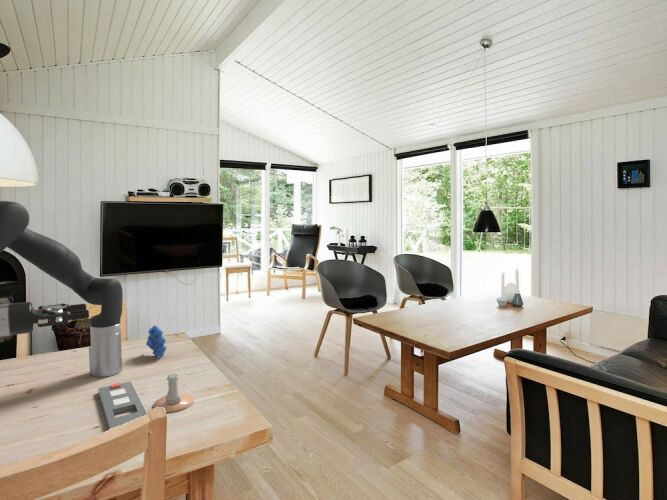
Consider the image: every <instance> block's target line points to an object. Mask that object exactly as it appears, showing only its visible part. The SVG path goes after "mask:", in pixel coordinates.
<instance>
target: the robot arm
mask: <svg viewBox="0 0 667 500" xmlns="http://www.w3.org/2000/svg"><path fill="white" fill-rule="evenodd" d="M29 224H30V215H29V212H28V210H27V208H26V207H25V206H24V205H22V204H21V203H18V202H15V201H11V200H10V201H8V200H7V201H6V200H0V254H1V253H2V252H3V251H4V250H5V249H6V248H8V249H9V250H11V251H13V252H14V253H16V254H17V256H18V255H19V256H20V257H21V258H22V259H24V260H26V261H27V262H29V263H30V264H32V265H33V266H34V267H36V268H38V269H39V270H40V271H42V272H44V273H45V274H47V275H48V276H50V277H51V278H53V279H55V280H57V281H58V282H60V283H61V284H63V285H65V286H66V287H67V288H69V289H70V290H72V291H73V292H74V293H76V294H77V295H78V296H79V297H80V298H81V299H82V300H84V302H86V303H87V304H90V305H95V306H101V307H100V308H101V309H100V313H98V314H95V315H93V316H91V317H90V311H89V310H88V309H87V304H86V303H79V304H67V303H59V304H58V303H57V304H51V305H50V304H49V305H40V306H38V309H34V308H33V303H32V302H31V301H24V302H16V303H15V302H14V303H5V304H0V338H1V337H10V336H16V335H23V334H31V333H32V332H34V324H35V325H37V328H43V327H52V326H60V325H61V326H62V325H68V324H69V323H70V322H72V321H82V320H86V319H89V318H90V319H89V329H90V331H89V332H90V346H89V347H88V359H89V363H88V364H89V374H90V375H92V376H93V377H98V378H104V377H105V378H106V377H110V376H115V375H117V374H119V373H121V372H122V371H123V354H122V350H123V349H122V330H121V329H122V328H121V327H122V325H121V318H122V314H123V298H124V295H123V292H124V291H123V286H122V283H121V282H120V281H119V280H118V279H117V278H116V279H115V278H101V277H99V278H98V277H94V276H93V275H92V274H90V273H88V272H86V271H85V270H84V269H83V266H82V263H81V259H80V258H79V256H78V255H77V254H76V253H75V252H74V251H72V250H71V249H69V248H68V247H67V246H66V245H64V244H63V243H61V242H59V241H57V240H55V239H53V238H50V237H49V236H46V235H44V234H42V233H38V232H35V231H33V230H31V229H29V228H27V227H28V226H29Z"/></svg>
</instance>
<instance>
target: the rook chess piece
mask: <svg viewBox="0 0 667 500" xmlns="http://www.w3.org/2000/svg"><path fill="white" fill-rule="evenodd" d="M179 379H180V377H179V375H178V373H169V374H168V375H167V378H166V380H167V382H168V383H167V385H168V392H167V393H166V395H165V396H166V398H165V399H166V401H165V402H166V403H167V404H169V405H173V404H177V403H179V402H180V401H181V399H182V398H181V394H180V392H181V391H179V385H178V384H179V382H178V380H179Z"/></svg>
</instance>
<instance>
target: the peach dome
mask: <svg viewBox="0 0 667 500" xmlns="http://www.w3.org/2000/svg"><path fill="white" fill-rule="evenodd" d="M180 394H181V398H182V399H181V401H180V402H179V403H177V404H173V405H169V404H167V403H166V402H165V401H166V399H165V398H166V396H167V395H164V396H161V397H159V398H158V399H156V401H154V403H153V409H154V408H156V407H164V408H165V410H166V413H167V414H168V413H176V412H179V411H182V410H183V411H184V410H186V409H188V408H190V407H192V405H193V404H194V403H195V397H194V396H193V395H192V394H189V393H186V392H185V393H183V392H181V393H180ZM166 413H165V414H166Z"/></svg>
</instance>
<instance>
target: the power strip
mask: <svg viewBox="0 0 667 500" xmlns="http://www.w3.org/2000/svg"><path fill="white" fill-rule="evenodd" d="M97 390H98V395H99V399H100V402H101V406H102V410H103V413H104V417H105V421H106V423H107V428H108V429H110V428H113V427H116V426H119V425H122V424H124V423H126V422H129V421H131V420H134V419H136V418H139V417H141V416H144V415H146V414H147V415H148V413H147V410H146V409H145V407H144V405H143V403H142V402H141V399H140V397H139V395H138V393H137V391H136V389H135V387H134V386H133V383H132V382H131V381H125V382H121V383H113V384H110V385H108V386H102V387H98V389H97ZM132 410H135V412H131V413H128V414H125V415H122V416H117V417H115V415H116V414H121V413H125V412H130V411H132Z"/></svg>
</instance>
